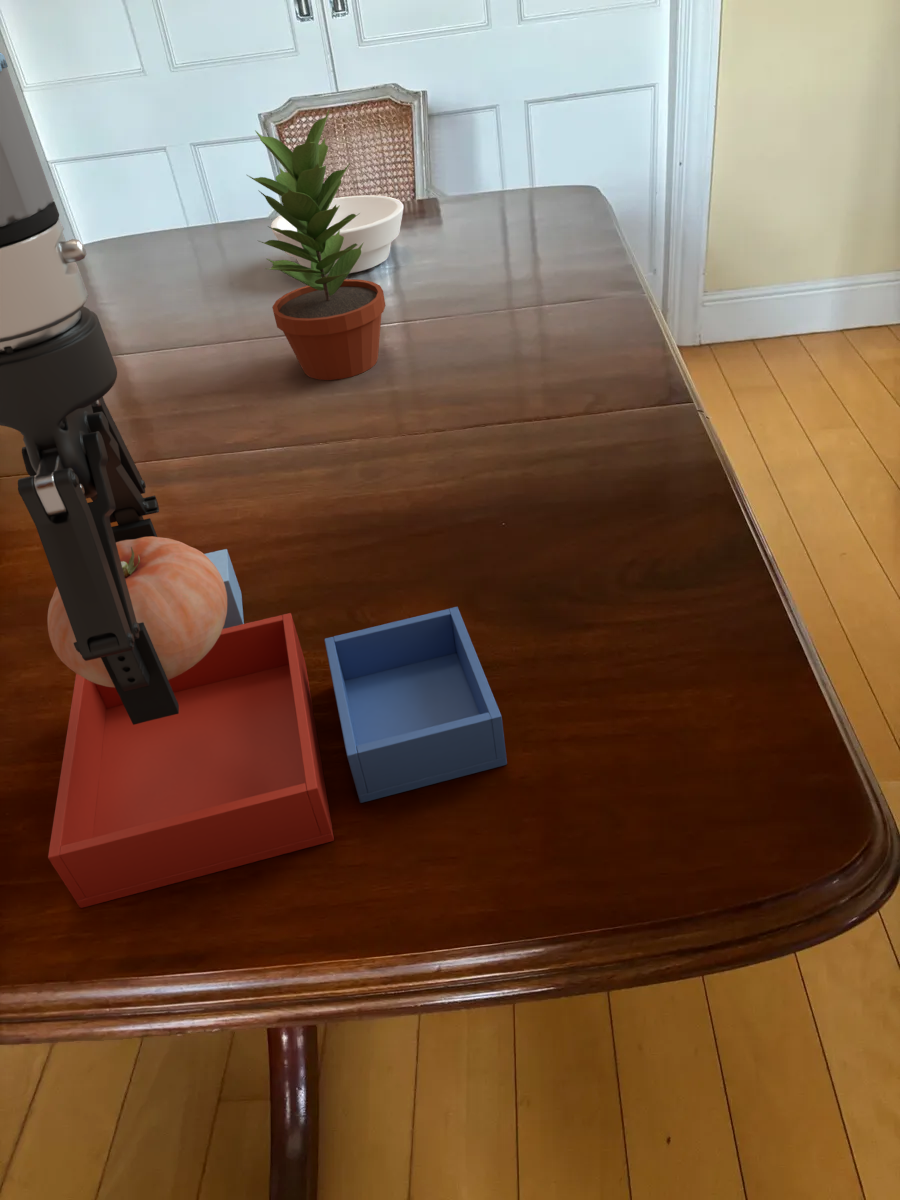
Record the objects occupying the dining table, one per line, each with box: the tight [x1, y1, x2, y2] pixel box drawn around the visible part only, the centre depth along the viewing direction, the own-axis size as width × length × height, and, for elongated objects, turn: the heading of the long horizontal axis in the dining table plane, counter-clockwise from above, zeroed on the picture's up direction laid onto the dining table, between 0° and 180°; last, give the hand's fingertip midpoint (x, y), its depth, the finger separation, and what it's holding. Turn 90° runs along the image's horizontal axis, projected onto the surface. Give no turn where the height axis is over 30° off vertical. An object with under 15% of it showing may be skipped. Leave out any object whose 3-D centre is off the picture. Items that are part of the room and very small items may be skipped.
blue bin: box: [324, 606, 508, 804], centre depth 65 cm, size 10×12×5 cm
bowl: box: [270, 194, 404, 277], centre depth 152 cm, size 22×22×8 cm
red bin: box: [47, 612, 335, 909], centre depth 63 cm, size 16×18×5 cm
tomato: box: [46, 536, 227, 687], centre depth 56 cm, size 11×11×8 cm
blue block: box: [204, 548, 245, 629], centre depth 78 cm, size 5×5×5 cm
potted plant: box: [246, 108, 386, 381], centre depth 111 cm, size 15×15×30 cm
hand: (158, 655), depth 58 cm, fingers closed on tomato, 11 cm apart
